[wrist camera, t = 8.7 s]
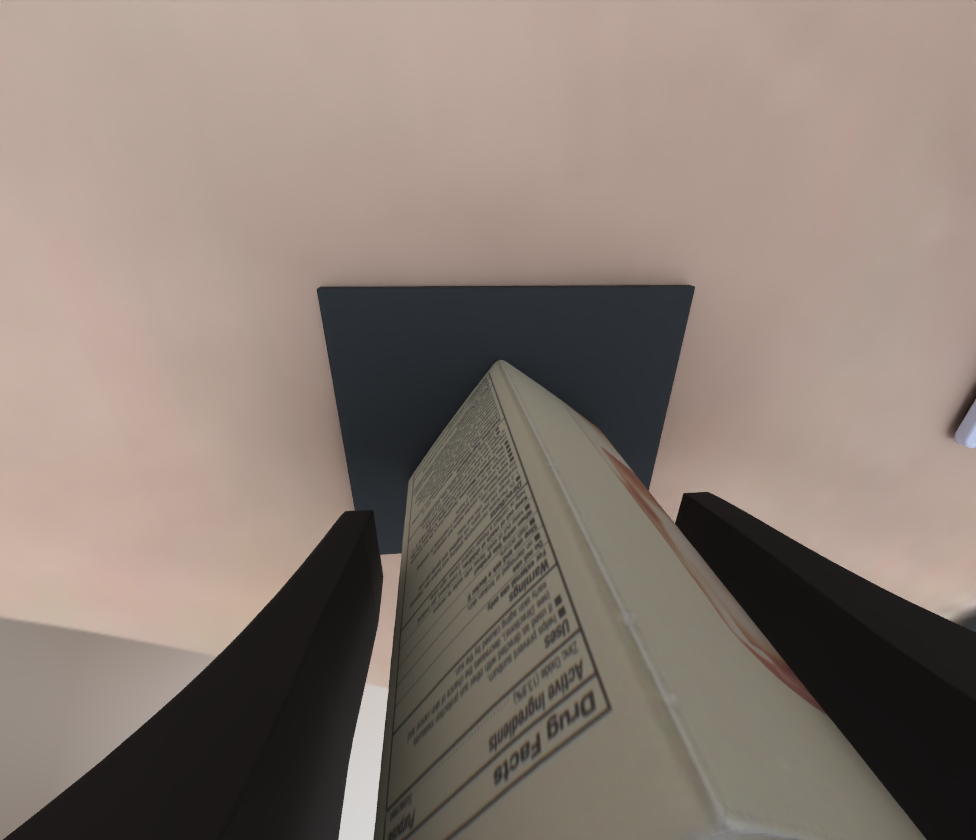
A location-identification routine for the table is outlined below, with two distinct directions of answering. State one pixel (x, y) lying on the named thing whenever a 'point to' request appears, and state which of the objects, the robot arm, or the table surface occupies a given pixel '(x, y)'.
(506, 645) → the product carton box
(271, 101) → the table surface
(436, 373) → the pad
